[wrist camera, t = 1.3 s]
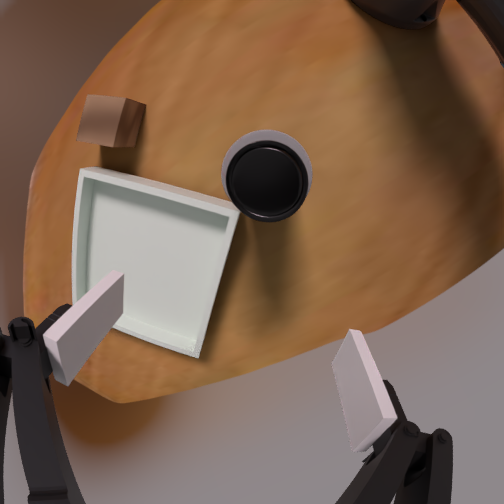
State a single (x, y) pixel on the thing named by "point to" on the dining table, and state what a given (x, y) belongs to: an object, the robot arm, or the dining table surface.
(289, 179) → the lotion bottle
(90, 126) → the walnut block
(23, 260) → the dining table surface
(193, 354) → the tray
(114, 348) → the dining table surface
